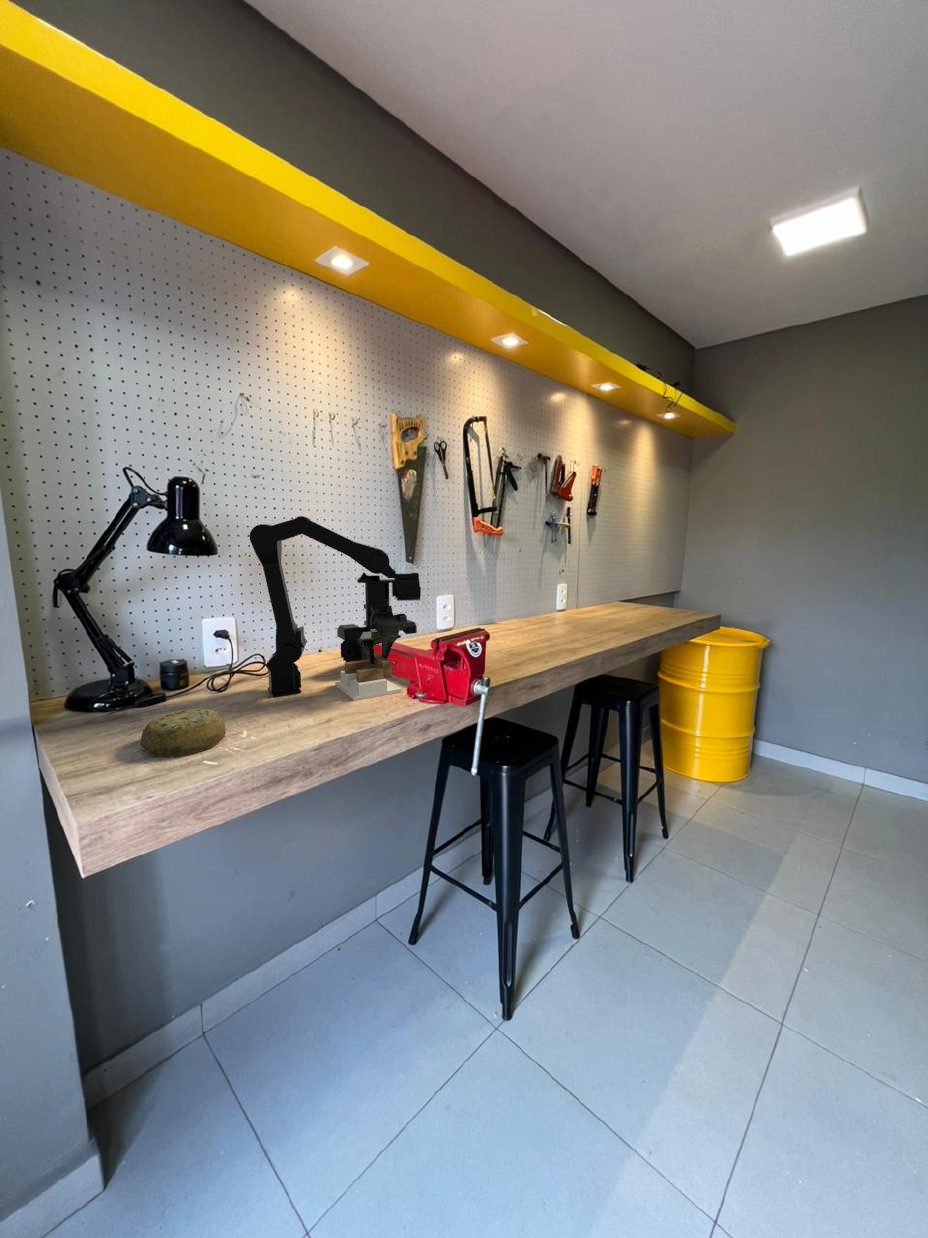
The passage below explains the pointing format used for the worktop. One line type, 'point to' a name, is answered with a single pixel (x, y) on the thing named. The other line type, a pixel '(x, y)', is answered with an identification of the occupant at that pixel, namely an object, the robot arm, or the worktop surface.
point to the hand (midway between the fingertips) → (378, 663)
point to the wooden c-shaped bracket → (370, 669)
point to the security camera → (356, 649)
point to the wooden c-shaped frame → (365, 687)
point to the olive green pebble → (183, 732)
